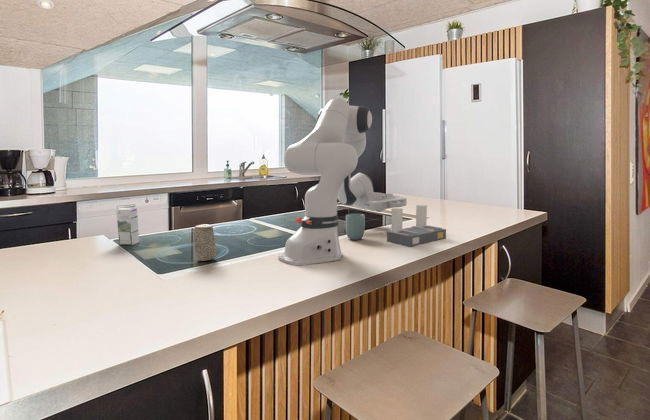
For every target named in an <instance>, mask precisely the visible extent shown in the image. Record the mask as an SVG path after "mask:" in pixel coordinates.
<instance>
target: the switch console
mask: <svg viewBox="0 0 650 420" xmlns="http://www.w3.org/2000/svg"><path fill="white" fill-rule="evenodd" d="M446 239H447V229H446V228H442V227H438V226H432V225H428V224H426V227H417V226H416V225H412V226H411V227H407V228H405V227H404V228H402V231H400V232H394V231H391V230H387V231H386V243H391V244H395V245H400V246H404V247H409V248H412V247H417V246H419V245H420V246H421V245H425V244H430V243H434V242H438V240H439V241H441V240H442V241H443V240H446Z"/></svg>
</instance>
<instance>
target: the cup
mask: <svg viewBox="0 0 650 420" xmlns="http://www.w3.org/2000/svg"><path fill="white" fill-rule="evenodd" d="M365 219H366V215H365V214H364V213H347V214H346V215H345V233H346V236H347V238H348V239H349V240H351V241H359V240H362V239H363V238H364V235H365V227H366V221H365Z"/></svg>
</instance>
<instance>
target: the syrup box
mask: <svg viewBox="0 0 650 420" xmlns="http://www.w3.org/2000/svg"><path fill="white" fill-rule="evenodd" d="M115 212H116V220H117V222H116V223H117V232H118V245H121V246H122V245H123V246H133V245H136V244H138V243H140V233H139V231H140V230H139V218H138V207H137V206H136V207H135V206H134V207H130V206H129V207H127V206H125V207H124V206H123V207H119V208H116V210H115Z"/></svg>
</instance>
